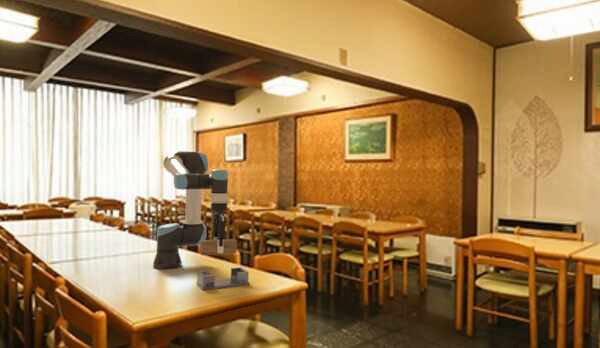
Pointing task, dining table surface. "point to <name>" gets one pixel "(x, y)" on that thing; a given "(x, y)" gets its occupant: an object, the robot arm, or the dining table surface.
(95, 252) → the dining table surface
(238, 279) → the bracket
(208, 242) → the brown wooden block
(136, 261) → the dining table surface
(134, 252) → the dining table surface
